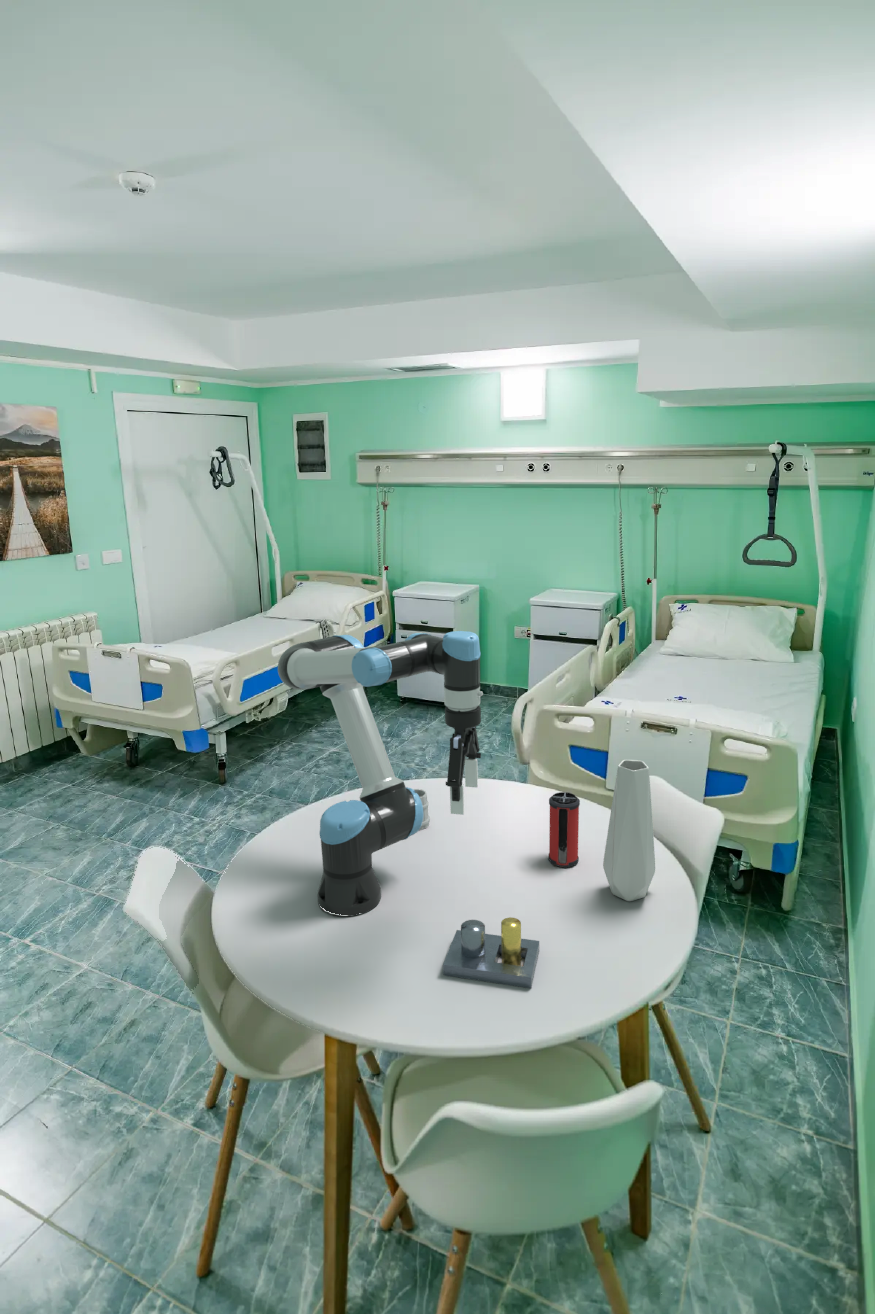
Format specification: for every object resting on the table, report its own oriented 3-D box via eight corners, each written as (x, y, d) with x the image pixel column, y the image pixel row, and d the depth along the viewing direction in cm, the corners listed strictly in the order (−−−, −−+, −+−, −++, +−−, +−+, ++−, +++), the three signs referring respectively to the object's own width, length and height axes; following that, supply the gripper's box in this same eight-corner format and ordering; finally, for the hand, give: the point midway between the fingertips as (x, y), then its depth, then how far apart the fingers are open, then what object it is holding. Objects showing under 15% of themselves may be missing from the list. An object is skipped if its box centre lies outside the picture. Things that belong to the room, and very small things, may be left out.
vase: (610, 874, 189) (614, 751, 181) (657, 886, 183) (663, 759, 175) (594, 898, 179) (597, 769, 171) (642, 911, 173) (648, 778, 165)
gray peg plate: (443, 975, 154) (442, 941, 152) (457, 939, 165) (456, 907, 163) (531, 988, 149) (531, 953, 147) (539, 951, 160) (539, 918, 158)
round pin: (500, 970, 155) (499, 927, 152) (503, 958, 159) (503, 916, 156) (519, 973, 154) (519, 930, 151) (522, 960, 158) (522, 918, 155)
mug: (426, 832, 213) (424, 793, 210) (386, 828, 216) (384, 789, 213) (433, 820, 220) (431, 782, 217) (394, 816, 223) (393, 779, 220)
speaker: (547, 866, 193) (547, 802, 189) (550, 852, 201) (550, 789, 196) (577, 869, 192) (578, 804, 187) (579, 854, 199) (580, 791, 194)
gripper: (467, 727, 145) (469, 827, 150) (491, 689, 168) (492, 777, 173) (429, 724, 147) (432, 824, 152) (459, 687, 170) (461, 775, 175)
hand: (464, 799), depth 163 cm, fingers open, 13 cm apart
